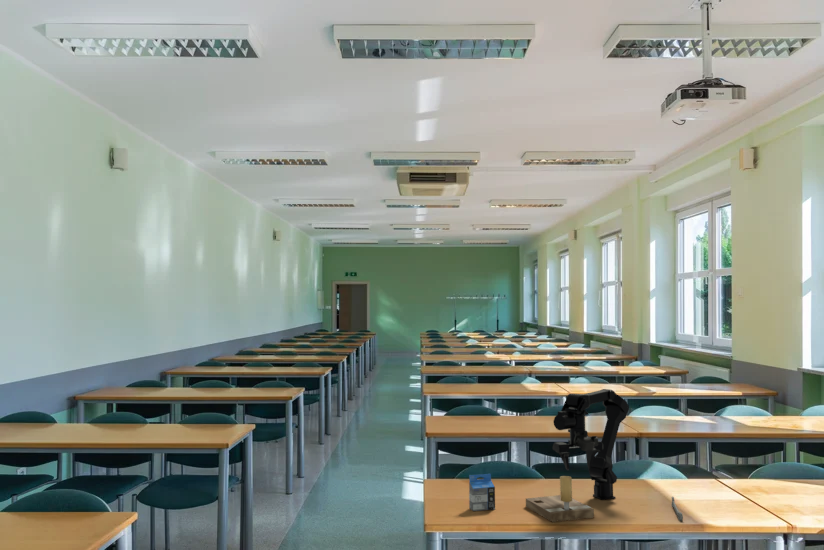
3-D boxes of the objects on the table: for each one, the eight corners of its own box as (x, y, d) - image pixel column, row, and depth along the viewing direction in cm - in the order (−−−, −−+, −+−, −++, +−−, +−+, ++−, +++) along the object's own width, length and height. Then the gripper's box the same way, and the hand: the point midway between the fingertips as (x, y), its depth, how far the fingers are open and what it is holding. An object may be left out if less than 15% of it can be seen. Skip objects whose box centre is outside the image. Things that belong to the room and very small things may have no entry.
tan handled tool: (566, 515, 242) (564, 475, 242) (575, 517, 238) (573, 477, 239) (558, 517, 239) (557, 477, 240) (568, 519, 236) (566, 479, 237)
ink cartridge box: (472, 511, 247) (472, 477, 248) (469, 508, 251) (468, 475, 252) (495, 509, 250) (494, 475, 250) (491, 506, 253) (490, 473, 254)
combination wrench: (682, 512, 234) (674, 495, 253) (678, 512, 234) (670, 495, 253) (683, 523, 233) (674, 505, 253) (679, 523, 234) (671, 505, 253)
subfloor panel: (565, 502, 258) (564, 494, 258) (594, 517, 238) (593, 508, 239) (525, 506, 253) (525, 498, 253) (552, 522, 234) (551, 513, 234)
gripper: (566, 432, 247) (567, 475, 246) (611, 429, 252) (612, 471, 251) (551, 427, 257) (552, 469, 256) (594, 424, 263) (595, 465, 262)
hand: (578, 469), depth 256 cm, fingers open, 9 cm apart
